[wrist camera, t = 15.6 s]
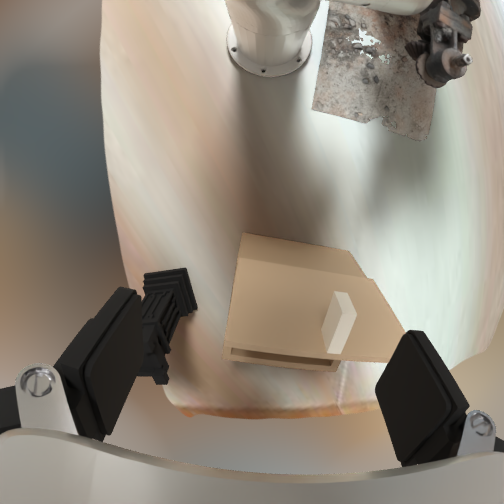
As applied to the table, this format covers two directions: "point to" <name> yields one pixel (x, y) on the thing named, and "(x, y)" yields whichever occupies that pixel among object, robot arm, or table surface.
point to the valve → (392, 62)
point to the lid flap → (310, 314)
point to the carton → (297, 257)
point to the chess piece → (163, 317)
